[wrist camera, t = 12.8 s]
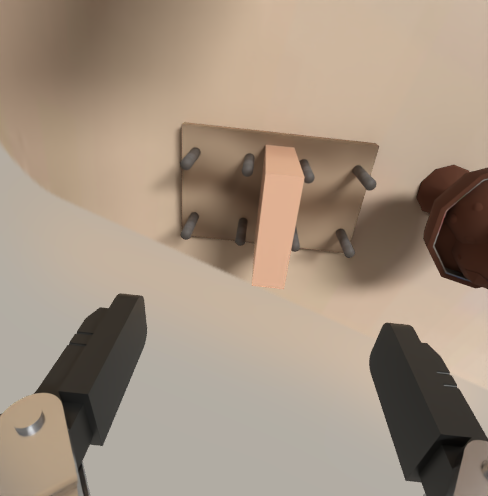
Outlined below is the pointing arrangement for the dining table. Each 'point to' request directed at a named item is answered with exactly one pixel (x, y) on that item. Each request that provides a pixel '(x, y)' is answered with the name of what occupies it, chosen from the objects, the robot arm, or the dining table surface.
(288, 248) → the peach chamfered block
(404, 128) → the dining table surface
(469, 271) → the ice cream bowl
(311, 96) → the dining table surface
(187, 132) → the dish rack
